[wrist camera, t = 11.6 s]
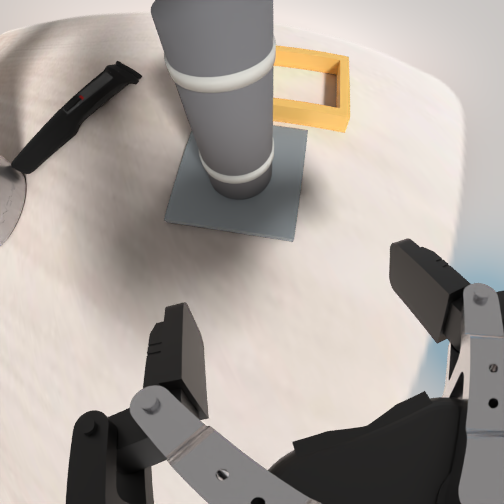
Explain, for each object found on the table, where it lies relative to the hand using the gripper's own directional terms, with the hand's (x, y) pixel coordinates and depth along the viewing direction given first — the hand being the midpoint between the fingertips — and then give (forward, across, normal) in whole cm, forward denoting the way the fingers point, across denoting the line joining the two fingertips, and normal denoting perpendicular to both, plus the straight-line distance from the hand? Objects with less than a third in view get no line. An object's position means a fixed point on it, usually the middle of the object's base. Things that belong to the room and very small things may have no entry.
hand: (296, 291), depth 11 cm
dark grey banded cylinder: (+13, 0, -2) cm, 13 cm away
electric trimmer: (+22, +14, -9) cm, 28 cm away
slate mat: (+13, 0, -1) cm, 13 cm away
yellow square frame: (+18, -7, -6) cm, 21 cm away
